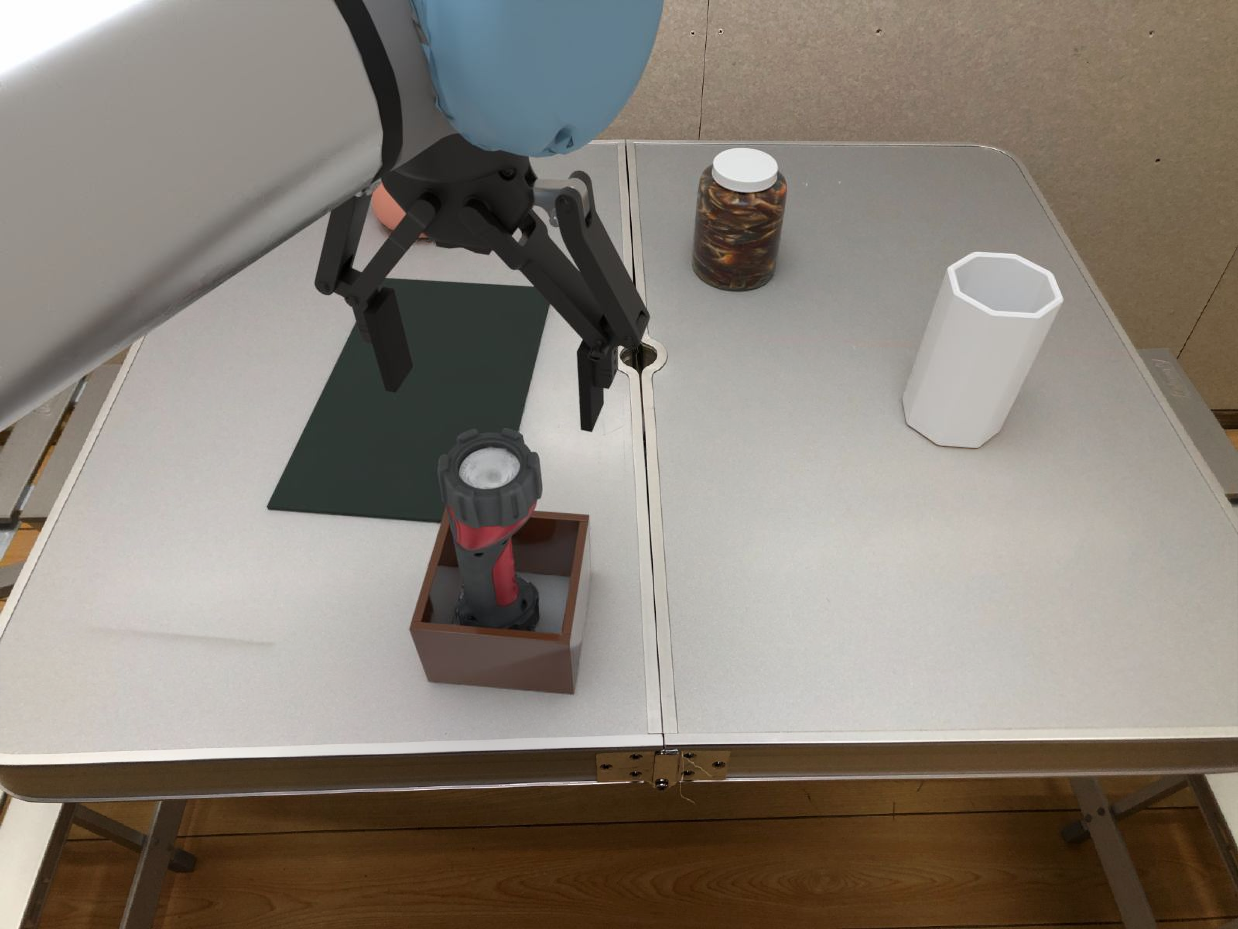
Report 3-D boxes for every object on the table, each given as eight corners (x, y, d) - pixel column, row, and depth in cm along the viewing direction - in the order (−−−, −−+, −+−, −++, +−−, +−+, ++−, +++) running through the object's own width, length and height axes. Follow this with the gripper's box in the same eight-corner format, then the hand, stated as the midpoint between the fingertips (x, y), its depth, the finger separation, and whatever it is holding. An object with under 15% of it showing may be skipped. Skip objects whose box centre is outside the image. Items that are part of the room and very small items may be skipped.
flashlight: (569, 604, 80) (555, 438, 62) (533, 673, 75) (507, 514, 58) (496, 578, 81) (463, 410, 64) (456, 644, 77) (410, 481, 60)
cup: (914, 370, 101) (961, 238, 88) (1009, 401, 98) (1073, 268, 84) (888, 429, 95) (934, 295, 81) (988, 463, 91) (1054, 330, 77)
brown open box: (427, 682, 74) (408, 629, 67) (460, 560, 83) (446, 503, 76) (574, 695, 73) (569, 643, 67) (592, 571, 82) (589, 514, 75)
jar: (793, 264, 116) (811, 163, 105) (740, 302, 110) (754, 199, 99) (726, 231, 121) (737, 132, 110) (673, 266, 116) (679, 164, 104)
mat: (267, 509, 87) (266, 506, 87) (378, 280, 114) (377, 277, 113) (494, 527, 86) (494, 524, 85) (553, 290, 112) (552, 287, 112)
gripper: (718, 67, 40) (690, 394, 55) (252, 13, 44) (349, 329, 60) (684, 142, 35) (664, 476, 51) (164, 73, 39) (295, 400, 55)
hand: (494, 397), depth 55 cm, fingers open, 13 cm apart
